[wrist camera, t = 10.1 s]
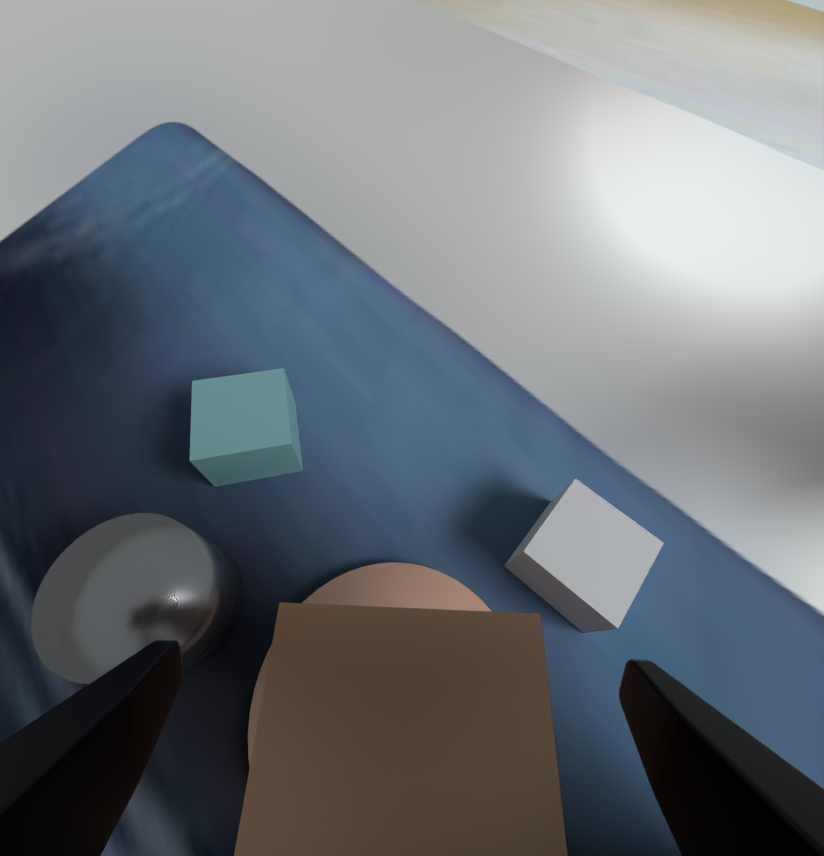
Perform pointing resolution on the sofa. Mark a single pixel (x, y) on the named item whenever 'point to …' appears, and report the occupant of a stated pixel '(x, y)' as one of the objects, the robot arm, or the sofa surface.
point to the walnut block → (403, 736)
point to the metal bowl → (134, 596)
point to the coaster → (380, 603)
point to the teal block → (244, 427)
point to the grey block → (585, 558)
